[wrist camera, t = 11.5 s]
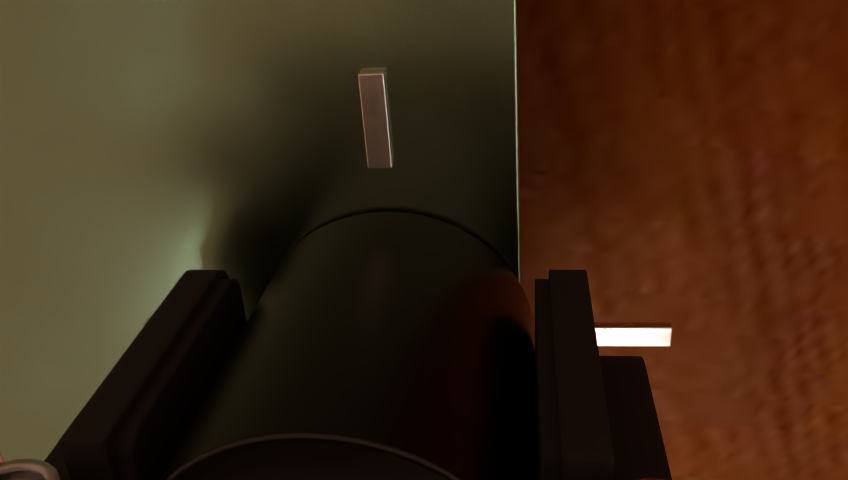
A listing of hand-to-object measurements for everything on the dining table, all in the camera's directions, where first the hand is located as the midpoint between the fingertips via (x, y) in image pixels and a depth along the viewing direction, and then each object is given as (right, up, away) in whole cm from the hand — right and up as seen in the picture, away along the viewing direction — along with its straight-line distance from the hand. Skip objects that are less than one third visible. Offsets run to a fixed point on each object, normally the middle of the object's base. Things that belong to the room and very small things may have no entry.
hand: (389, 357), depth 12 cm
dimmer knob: (0, 0, +1) cm, 1 cm away
